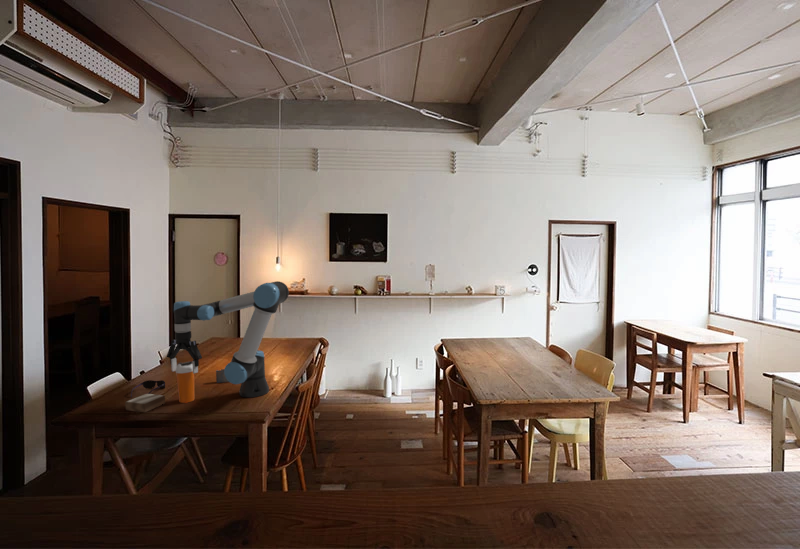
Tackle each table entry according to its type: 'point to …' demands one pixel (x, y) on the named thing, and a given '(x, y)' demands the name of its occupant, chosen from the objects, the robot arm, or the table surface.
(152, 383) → the sunglasses
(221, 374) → the dark angular channel piece
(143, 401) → the block
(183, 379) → the shaker bottle
